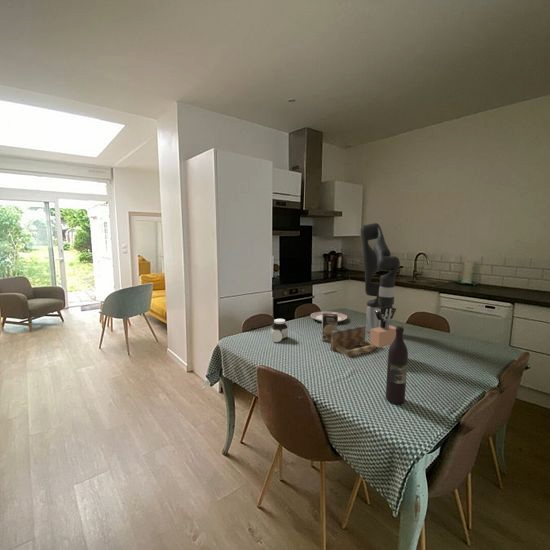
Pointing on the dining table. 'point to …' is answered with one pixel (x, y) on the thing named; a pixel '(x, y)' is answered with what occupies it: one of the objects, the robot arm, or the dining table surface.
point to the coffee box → (328, 325)
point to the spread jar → (279, 330)
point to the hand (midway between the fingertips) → (384, 327)
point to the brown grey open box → (350, 341)
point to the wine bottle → (397, 369)
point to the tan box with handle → (383, 335)
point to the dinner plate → (319, 314)
